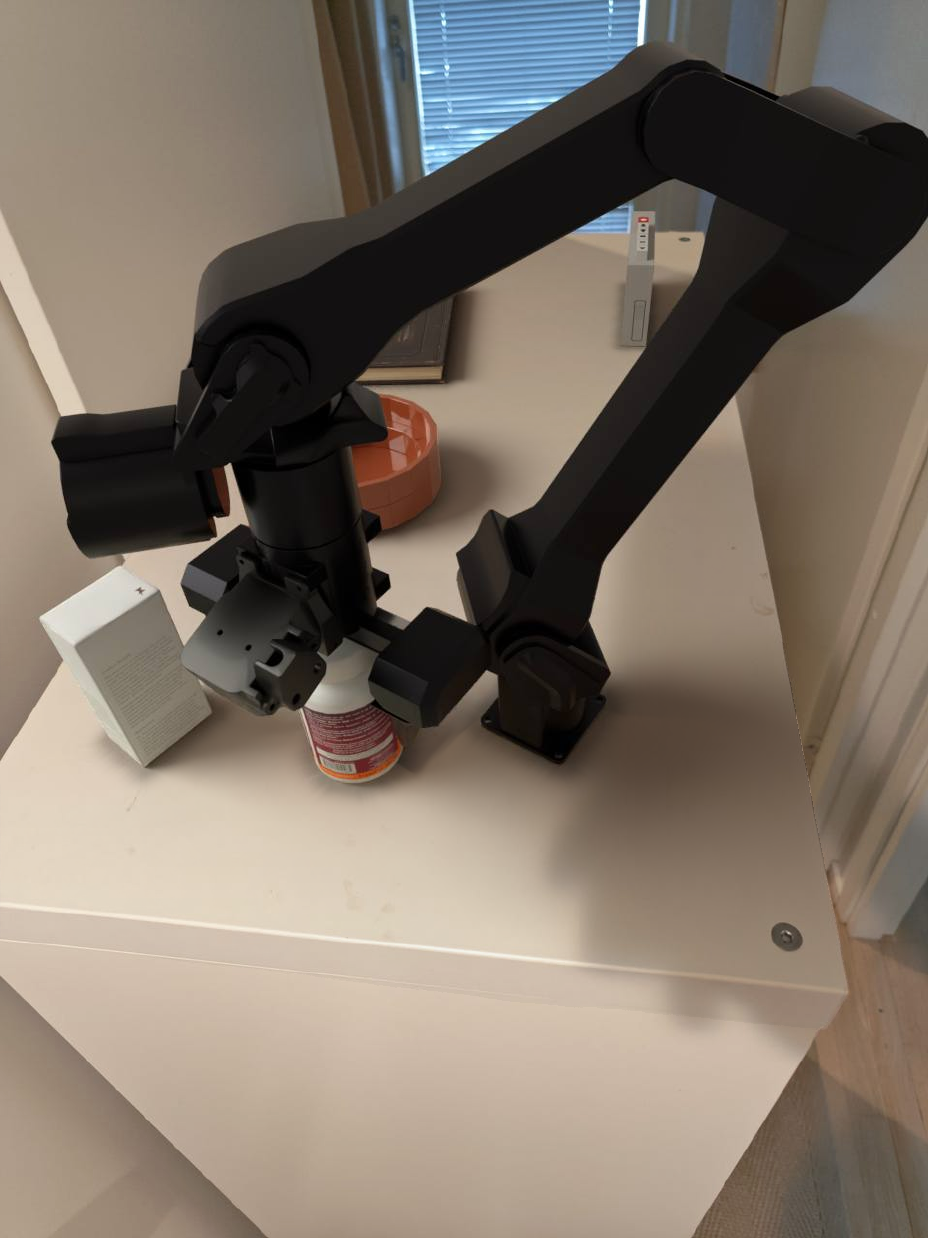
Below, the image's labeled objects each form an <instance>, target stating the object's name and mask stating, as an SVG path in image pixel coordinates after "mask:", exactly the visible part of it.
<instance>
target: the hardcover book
mask: <svg viewBox="0 0 928 1238" xmlns="http://www.w3.org/2000/svg"><path fill="white" fill-rule="evenodd" d="M457 300H458V294H457V295H456V296H454V297H452V298H450V299H448V300H446V301H445V302H443V303H441V304H439V305H437V306H435V307H433V308H432V309H430V310H428V311H426V312H424V313H423V314H421V315H420V316H418V317H417V318H416V319H414V320H413V321H412V322H411V323H409V324H408V325H407V326H405V327H404V328H403V329H402V330H400V331H399V332H398V333H397V334H396V335H395V336H394V338H393V339H392V340H391V341H390V343H389V344H388V345H387V346H386V347H385V349H384V350H383V351H382V352H381V353H380V355H379V356H378V357H377V358H376V360H375V361H374V362H373V363H372V364H371V366H370V367H369V368H368V369H367V370H366V372H365V373H364V374H363V375H362V376H360V377H359V378H358V379H357V380H355V381H354V382H355V383H356V384H358V385H361V386H374V385H375V386H377V385H378V386H379V385H381V386H382V385H422V384H423V385H424V384H427V385H428V384H445V382H446V375H447V368H448V362H449V356H450V355H449V354H450V347H451V342H452V334H453V327H454V326H453V325H454V320H455V312H456V307H457Z"/></svg>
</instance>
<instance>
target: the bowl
mask: <svg viewBox="0 0 928 1238" xmlns="http://www.w3.org/2000/svg"><path fill="white" fill-rule="evenodd" d="M378 394H379V396H380V398H381V402H382V406H383V411H384V415H385V419H386V424H387V428H388V433H389V434H388V437H387V439H386V440H384V441H382V442H376V443H369V444H363V445H356V446H351V450H352V456H353V462H354V467H355V473H356V479H357V485H358V490H359V496H360V502H361V507H362V509H364V510H367V511H369V512H372V513H374V514H377V515H379V516H380V520H381V526H382V531H384V530H389V529H392V528H395V527H397V526H399V525H401V524H403V523H405V522H407V521H409V520H411V519H413V518H415V517H416V516H418V515H419V514H420V513H421V512H423V510H425V509H426V508H427V507H428V506H429V505H430V504H431V503H433V502H434V500H435V498H436V496H437V494H438V492H439V490H440V488H441V486H442V471H441V470H442V469H441V457H440V448H439V447H440V446H439V436H438V426H437V423H436V421H435V420H434V419H433V417H432V415H431V414H430V412H429V411H428V410H426V409H425V408H423V407H422V406H421V405H419V404H417V403H416V402H414V401H412V400H409V399H405V398H403V397H399V396H396V395H393V394H383V393H378Z"/></svg>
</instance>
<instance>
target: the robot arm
mask: <svg viewBox="0 0 928 1238" xmlns="http://www.w3.org/2000/svg"><path fill="white" fill-rule="evenodd" d="M672 180H676V181H679V182H682V183H684V184H686V185H690V186H692V187H695V188H697V189H699V190H703V191H705V192H707V193H709V194H711V195H713V196H715V198H714V201H713V205H712V208H711V209H712V210H711V213H710V217H709V221H708V226H707V230H706V234H705V238H704V242H703V246H702V250H701V253H700V258H699V263H698V267H697V270H696V273H695V274H694V277H693V278H692V280H691V282H690V284H689V285H688V286H687V288H686V290H684V292H683V294H681V296H680V298H679V300H678V301H677V302H676V304H674V307H673V308H672V310H670V313H669V314H668V315H667V316H666V318H665V320H664V321H663V322H662V324H661V325H660V327H659V328H658V329H657V331H656V332H655V334H653V336H652V338H651V339H650V341H649V342H648V343H647V344H646V346H645V348H644V350H643V351H642V352H641V353H640V355H639V357H637V359H636V361H635V363H634V364H633V365H632V367H631V368H630V369H629V371H628V372H627V374H626V375H625V377H624V378H623V380H622V381H621V383H620V384H619V385H618V387H617V388H616V389H615V391H614V392H613V394H612V395H611V397H610V399H609V400H607V403H606V404H605V405H604V406H603V408H602V410H601V411H600V413H599V414H598V415H597V417H596V419H595V420H594V421H593V423H592V424H591V425H590V427H589V428H588V430H587V431H586V433H585V434H584V435H583V437H582V438H581V439H580V441H579V442H578V444H577V445H576V447H575V448H574V450H573V451H572V452H571V454H570V456H569V457H568V458H567V460H566V461H565V463H564V464H563V466H562V467H561V469H559V471H558V472H557V474H556V476H555V477H554V479H553V480H552V481H551V482H550V484H549V486H548V487H547V489H546V490H545V492H544V493H543V494H542V496H541V497H540V499H538V501H537V502H536V503H535V504H534V505H532V506H531V507H529V508H526V509H523V510H522V511H519V512H517V513H515V514H513V515H511V516H508V517H507V516H505V515H504V514H502V513H500V512H499V511H497V510H495V509H493V508H491V509H488V511H486V512H485V513H484V515H483V516H482V518H481V520H480V523H479V525H478V527H477V530H476V531H475V533H474V535H473V537H472V538H471V539H470V540H469V541H468V543H466V545H464V546H463V547H462V548H460V549H459V550H458V551H457V552H455V557H456V561H457V565H458V569H457V572H456V579H455V580H456V583H457V589H458V593H459V596H460V601H461V604H462V608H463V613H464V616H465V619H466V620H464V619H462V618H460V617H458V616H455V615H453V614H451V613H448V612H446V611H444V610H442V609H440V608H437V607H431V606H425V607H424V608H423V609H422V610H421V611H420V612H419V613H418V614H417V615H416V616H415V617H414V618H413V619H412V620H411V621H410V620H408V619H406V618H404V617H401V616H399V615H398V614H394V613H393V612H390V611H388V610H386V609H384V608H381V607H379V606H378V601H379V600H380V599H381V598H382V597H383V596H384V595H385V594H386V593H387V592H388V591H389V590H391V588H392V585H391V578H390V574H389V573H387V572H385V571H382V570H380V569H378V568H375V567H373V565H372V564H373V563H372V559H371V554H370V548H369V543H370V542H371V541H372V540H374V538H376V537H377V536H378V535H379V534H380V533H381V532H382V531H383V530H382V526H381V520H380V516H379V515H377V514H374V513H372V512H369V511H367V510H364V509H362V507H361V502H360V496H359V490H358V485H357V479H356V473H355V467H354V462H353V456H352V450H351V446H356V445H363V444H369V443H376V442H382V441H384V440H386V439H387V437H388V434H389V433H388V428H387V424H386V419H385V415H384V411H383V406H382V402H381V398H380V396H379V394H380V393H377V392H375V391H373V390H371V389H369V388H367V387H365V386H364V385H358V384H356V383H355V382H354V381H355V380H357V379H358V378H359V377H360V376H362V375H363V374H364V373H365V372H366V370H367V369H368V368H369V367H370V366H371V364H372V363H373V362H374V361H375V360H376V358H377V357H378V356H379V355H380V353H381V352H382V351H383V350H384V349H385V347H386V346H387V345H388V344H389V343H390V341H391V340H392V339H393V338H394V336H395V335H396V334H397V333H398V332H399V331H400V330H402V329H403V328H404V327H405V326H407V325H408V324H409V323H411V322H412V321H413V320H414V319H416V318H417V317H418V316H420V315H421V314H423V313H424V312H426V311H428V310H430V309H432V308H433V307H435V306H437V305H439V304H441V303H443V302H445V301H446V300H448V299H450V298H452V297H454V296H456V295H457V296H458V295H460V294H461V293H462V292H463V293H464V292H465V291H467V290H469V289H470V288H472V287H474V286H476V285H478V284H480V283H482V282H483V281H485V280H487V279H489V278H491V277H493V276H494V275H496V274H498V273H500V272H501V271H503V270H505V269H507V268H509V267H510V266H512V265H514V264H516V263H518V262H520V261H522V260H523V259H526V258H528V257H529V256H531V255H533V254H534V253H535V254H536V252H538V251H540V250H543V249H544V248H546V247H547V246H550V245H551V244H553V243H555V242H557V241H558V240H560V239H563V238H564V237H566V236H568V235H569V234H571V233H573V232H575V231H577V230H579V229H580V228H582V227H584V226H586V225H588V224H590V223H591V222H593V221H595V220H597V219H599V218H601V217H602V216H604V215H606V214H609V213H610V212H612V211H614V210H616V209H617V208H619V207H621V206H623V205H624V204H627V203H628V202H630V201H632V200H634V199H636V198H637V197H640V196H641V195H643V194H645V193H647V192H649V191H650V190H652V189H655V188H656V187H658V186H660V185H661V184H663V183H666V182H669V181H672ZM927 220H928V136H927V134H926V133H925V131H924V130H922V129H920V128H918V127H916V126H914V125H912V124H910V123H908V122H905V121H903V120H901V119H899V118H897V117H895V116H893V115H891V114H890V113H887V112H884V111H883V110H880V109H878V108H876V107H874V106H872V105H870V104H868V103H866V102H864V101H862V100H860V99H858V98H856V97H854V96H852V95H850V94H848V93H845V92H843V91H841V90H839V89H837V88H834V87H833V86H832V85H831V86H826V85H825V86H823V85H820V86H818V85H817V86H816V85H815V86H814V85H812V86H809V87H806V88H802V89H800V90H798V91H795V92H792V93H790V94H786V93H785V94H783V95H779V94H776V93H775V92H772V91H770V90H767V89H766V88H763V87H761V86H758V85H756V84H754V83H752V82H749V81H747V80H745V79H743V78H740V77H738V76H736V75H734V74H730V73H728V72H725V71H724V70H721V69H720V68H718V67H716V66H715V65H714V64H711V63H710V62H708V61H707V60H705V59H703V58H701V57H699V56H698V55H696V54H694V53H692V52H690V51H689V50H687V49H685V48H683V47H681V46H680V45H678V44H676V43H674V42H672V41H667V40H652V41H649V42H647V43H644V44H643V43H642V44H640V45H638V46H636V47H635V48H633V49H632V50H631V51H629V52H628V53H627V54H626V55H624V57H623V58H622V59H621V60H620V61H618V63H616V64H615V65H614V66H613V67H612V68H611V69H609V70H608V71H606V72H604V73H603V74H601V75H599V76H597V77H596V78H593V79H591V80H590V81H589V82H587V83H585V84H584V85H582V86H580V87H578V88H576V89H575V90H573V91H571V92H570V93H568V94H566V95H564V96H562V97H561V98H559V99H558V100H556V101H554V102H552V103H550V104H549V105H547V106H545V107H543V108H542V109H539V110H538V111H536V112H534V113H532V114H531V115H529V116H528V117H526V118H524V119H522V120H520V121H519V122H517V123H515V124H513V125H512V126H510V127H509V128H507V129H505V130H503V131H502V132H500V133H498V134H496V135H495V136H492V137H491V138H489V139H488V140H486V141H484V142H483V143H481V144H479V145H477V146H476V147H474V148H472V149H470V150H468V151H467V152H465V153H463V154H462V155H460V156H458V157H456V158H455V159H453V160H451V161H450V162H448V163H446V164H444V165H442V166H441V167H439V168H437V169H436V170H434V171H433V172H430V173H429V174H427V175H425V176H423V177H421V178H420V179H418V180H416V181H415V182H413V183H411V184H410V185H408V186H405V188H403V189H400V190H399V191H397V192H395V193H394V194H392V195H391V196H388V197H387V198H385V199H383V200H382V201H380V202H378V203H376V204H375V205H373V206H371V207H369V208H365V209H363V210H360V211H357V212H354V213H352V214H349V215H345V216H342V217H341V216H340V217H336V218H329V219H322V220H314V221H306V222H300V223H295V224H292V225H289V226H287V227H283V228H281V229H278V230H275V231H272V232H268V233H266V234H263V235H261V236H257V237H255V238H252V239H249V240H247V241H243V242H241V243H238V244H235V245H233V246H230V247H228V248H225V249H224V250H223V251H222V252H221V253H219V254H218V255H217V256H216V257H214V258H213V259H212V260H211V261H210V262H209V263H208V264H207V266H206V268H205V269H204V270H203V272H202V273H201V276H200V277H201V278H200V281H199V283H198V289H197V295H196V296H197V297H196V303H195V313H194V321H193V322H194V324H193V332H192V343H191V351H190V352H191V353H190V356H189V359H188V361H187V363H186V365H185V368H184V369H182V370H181V371H180V375H179V376H180V377H179V384H178V394H177V400H176V404H175V403H173V404H167V405H160V406H153V407H147V408H146V407H145V408H138V409H131V410H125V411H118V412H111V413H92V412H91V413H90V412H84V413H82V412H81V413H75V414H69V415H62V416H59V417H58V418H57V421H56V424H55V427H54V431H53V434H52V437H51V440H50V445H51V446H52V448H53V451H54V453H55V456H56V457H57V459H58V461H59V463H58V464H59V467H58V468H59V479H60V480H59V481H60V486H61V492H62V497H63V501H64V506H65V510H66V513H67V517H66V526H67V527H66V528H67V530H68V532H69V534H70V536H71V539H72V541H73V542H74V543H75V546H76V547H77V549H78V550H79V551H80V552H81V554H82V555H83V556H84V557H86V558H88V559H90V560H95V559H103V558H108V557H115V556H121V555H127V554H135V553H141V552H146V551H147V552H148V551H154V550H161V549H166V548H172V547H173V548H174V547H179V546H185V545H191V544H199V543H204V542H210V541H211V540H212V539H215V538H218V531H217V530H218V529H217V523H216V520H215V518H216V519H220V518H228V517H230V515H231V497H230V489H229V484H228V478H227V473H226V469H225V467H227V466H228V465H229V464H230V466H231V469H232V472H233V476H234V480H235V482H236V486H237V489H238V493H239V496H240V499H241V504H242V507H243V510H244V513H245V516H246V519H247V524H248V525H247V524H243V523H239V524H238V525H236V527H234V528H233V529H232V530H230V531H229V532H227V533H226V534H225V535H224V536H221V538H220V539H218V540H216V541H215V542H214V543H212V545H210V546H209V547H207V548H206V549H205V550H204V551H202V552H201V553H199V554H198V555H197V556H195V557H194V558H193V559H191V560H190V561H188V563H186V566H185V569H184V572H183V575H182V578H181V581H180V583H179V584H180V587H181V589H182V592H183V595H184V597H185V600H186V602H187V604H188V607H189V608H191V609H193V610H195V611H197V612H199V613H201V614H203V615H204V616H205V617H204V619H202V621H201V622H200V624H199V625H198V626H197V627H196V629H195V631H194V632H193V633H192V634H191V636H190V637H189V638H188V640H187V641H186V643H185V644H184V647H183V649H182V651H181V655H180V660H181V664H182V666H183V667H184V668H185V669H187V670H188V671H189V672H190V673H192V674H193V675H194V676H196V677H197V678H198V680H199V681H201V682H202V683H203V684H204V685H206V686H207V687H208V688H209V689H211V690H212V691H213V692H215V693H216V694H217V695H219V696H221V697H223V698H225V699H227V700H228V701H230V702H232V703H234V704H235V705H237V706H239V707H240V708H242V709H244V710H245V711H247V712H249V713H250V714H252V715H254V716H256V717H271V716H273V715H275V714H276V713H277V711H279V709H281V708H287V709H288V710H290V711H292V712H297V711H299V709H301V708H302V707H304V706H305V704H306V703H307V701H308V700H309V698H310V697H311V695H312V694H313V692H314V691H315V689H316V688H317V687H318V685H319V684H320V682H321V681H322V679H323V678H324V676H325V674H326V669H327V664H326V661H325V660H324V659H323V658H322V657H321V656H320V655H319V654H318V653H317V652H319V653H321V654H323V655H325V656H327V657H328V656H329V655H330V654H332V653H333V652H334V651H335V650H336V649H337V648H338V647H339V646H340V645H341V644H342V643H343V638H347V639H349V640H351V641H353V642H355V643H357V644H359V645H361V646H363V647H365V648H367V649H369V650H371V651H373V652H375V653H377V654H378V655H377V656H376V659H375V661H374V664H373V667H372V669H371V672H370V675H369V677H368V685H369V690H370V693H371V695H372V696H373V697H374V698H375V699H374V700H373V701H372V702H371V704H370V705H371V706H373V707H375V708H377V709H378V710H380V711H382V712H384V713H386V714H388V715H390V716H391V717H392V721H393V724H394V728H395V732H396V734H397V737H398V739H399V741H400V743H401V745H403V747H404V748H407V747H409V746H410V744H411V743H413V741H414V740H415V738H416V737H417V735H418V734H419V731H420V729H422V730H426V729H432V728H436V727H439V726H440V724H441V723H442V722H443V721H444V720H445V719H446V718H447V717H448V715H449V714H450V713H451V712H452V711H453V710H454V708H456V706H457V705H458V704H459V703H460V702H461V700H462V699H463V698H464V697H465V696H466V694H468V693H469V691H470V690H471V689H472V687H473V686H474V685H475V684H476V683H477V682H478V681H479V680H480V679H481V677H482V676H483V675H484V674H485V673H486V671H487V672H490V673H492V674H493V675H496V676H497V697H496V698H495V700H493V702H492V703H491V705H490V706H489V707H488V708H487V709H486V710H485V712H484V713H483V714H482V715H481V717H480V726H481V728H482V729H484V730H486V731H489V732H491V733H492V734H494V735H497V737H500V738H502V739H504V740H506V741H509V742H510V743H512V744H514V745H517V746H518V747H520V748H522V749H524V750H526V751H528V752H530V753H532V754H534V755H536V756H538V757H540V758H542V759H544V760H546V761H548V762H550V763H552V764H554V765H557V766H562V765H564V764H565V763H566V762H567V760H568V759H569V758H570V757H571V755H572V754H573V752H574V751H575V750H576V748H577V746H578V745H579V744H580V742H581V741H582V740H583V738H584V737H585V735H586V734H587V733H588V731H589V730H590V729H591V727H592V726H593V724H594V723H595V721H596V720H597V719H598V718H599V716H600V715H601V713H602V712H603V710H604V709H605V707H606V705H607V697H606V696H605V695H604V694H603V693H601V692H602V691H603V688H604V687H605V685H606V684H607V682H608V680H609V678H610V676H611V674H612V672H611V670H610V667H609V665H608V662H607V660H606V658H605V655H604V653H603V650H602V648H601V646H600V643H599V641H598V639H597V636H596V633H595V631H594V629H593V627H592V625H591V621H590V619H591V616H592V613H593V608H594V603H595V600H596V595H597V591H598V587H599V582H600V578H601V574H602V569H603V565H604V564H605V561H606V559H607V558H608V556H609V555H610V553H611V552H612V551H613V550H614V548H615V547H616V546H617V545H618V543H619V542H620V541H621V540H622V538H623V537H624V536H625V534H626V533H627V532H628V531H629V530H630V528H631V527H632V526H633V524H634V523H635V522H636V521H637V520H638V518H639V517H640V516H641V514H642V513H643V512H644V510H645V509H646V508H647V507H648V505H649V504H651V502H652V500H653V499H654V498H655V496H656V495H657V494H658V492H659V491H660V490H661V489H662V488H663V486H664V485H665V484H666V483H667V481H669V479H670V477H672V475H673V474H674V472H675V471H676V470H677V469H678V467H679V466H680V465H681V464H682V462H683V461H684V460H685V459H686V457H687V456H688V455H689V453H690V452H691V451H692V449H693V448H694V447H695V446H696V444H698V442H699V441H700V439H702V437H703V436H704V435H705V434H706V432H707V431H708V430H709V429H710V427H711V426H712V424H713V423H714V422H715V420H716V419H718V417H719V416H720V414H721V413H722V412H723V410H724V409H725V408H726V407H727V406H728V404H729V403H730V401H732V399H733V398H734V396H735V395H736V394H737V393H738V392H739V390H740V389H741V388H742V386H743V385H745V383H746V381H747V380H748V379H749V378H750V376H751V375H752V374H753V372H754V371H755V370H756V369H757V367H758V366H760V364H761V362H762V361H763V359H764V358H765V357H766V356H767V355H768V354H769V352H770V351H771V350H772V348H773V347H774V346H775V345H776V344H777V343H778V341H780V340H781V339H782V338H783V337H784V336H785V335H787V334H788V333H790V332H793V331H794V330H796V329H798V328H800V327H802V326H804V325H806V324H808V323H810V322H812V321H814V320H816V319H818V318H820V317H821V316H824V315H825V314H828V313H830V312H832V311H834V310H836V309H837V308H839V307H841V306H843V305H846V304H847V303H849V302H850V301H851V300H853V298H854V297H855V296H857V295H858V293H859V292H861V291H862V290H863V289H864V288H865V286H867V285H868V284H869V283H870V282H871V281H872V280H873V279H875V277H876V276H877V275H878V274H879V273H880V272H881V271H882V270H883V269H885V267H887V266H888V264H890V263H891V262H892V261H893V260H894V259H895V258H896V257H897V256H899V254H900V253H901V252H902V251H903V250H904V249H905V248H906V247H907V246H908V245H909V244H910V243H911V242H912V240H913V239H915V237H916V236H917V235H918V233H919V232H920V231H921V229H922V227H923V226H924V224H925V223H926V221H927ZM214 517H215V518H214ZM487 721H489V722H487ZM558 756H560V757H558Z"/></svg>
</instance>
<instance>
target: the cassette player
mask: <svg viewBox="0 0 928 1238" xmlns="http://www.w3.org/2000/svg"><path fill="white" fill-rule="evenodd" d="M630 217H631V218H630V230H629V241H628V253H627V254H628V256H627V265H626V277H625V291H624V292H625V293H624V303H623V316H622V317H623V318H622V331H621V346H622V347H647V341H648V340H647V339H648V329H649V320H650V311H651V301H652V292H653V284H654V283H653V281H654V275H655V274H654V273H655V251H656V250H655V249H656V246H655V245H656V210H655V211H653V210H652V211H651V210H649V211H647V210H645V211H643V210H639V211H638V210H635V211H634V210H633V211H631V216H630Z"/></svg>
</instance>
